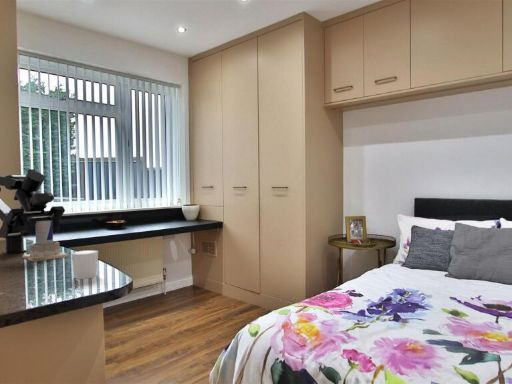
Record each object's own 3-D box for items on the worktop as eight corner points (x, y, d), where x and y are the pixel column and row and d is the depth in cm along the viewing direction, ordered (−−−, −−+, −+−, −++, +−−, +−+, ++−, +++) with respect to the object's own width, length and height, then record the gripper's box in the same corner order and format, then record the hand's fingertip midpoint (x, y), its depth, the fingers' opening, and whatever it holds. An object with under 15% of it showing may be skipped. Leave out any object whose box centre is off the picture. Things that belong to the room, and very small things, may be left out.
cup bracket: (22, 257, 128) (22, 243, 128) (55, 253, 136) (55, 240, 136) (33, 261, 121) (33, 247, 121) (67, 256, 129) (67, 243, 129)
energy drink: (56, 253, 131) (55, 220, 131) (46, 256, 126) (45, 222, 125) (43, 252, 131) (42, 220, 131) (32, 255, 126) (31, 222, 126)
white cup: (71, 280, 96) (71, 255, 96) (71, 275, 102) (71, 251, 102) (99, 277, 99) (99, 252, 99) (97, 272, 106) (97, 248, 105)
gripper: (9, 185, 122) (28, 218, 117) (61, 185, 138) (80, 214, 133) (-2, 207, 126) (15, 241, 121) (50, 205, 142) (67, 234, 137)
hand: (46, 231), depth 128 cm, fingers open, 9 cm apart
